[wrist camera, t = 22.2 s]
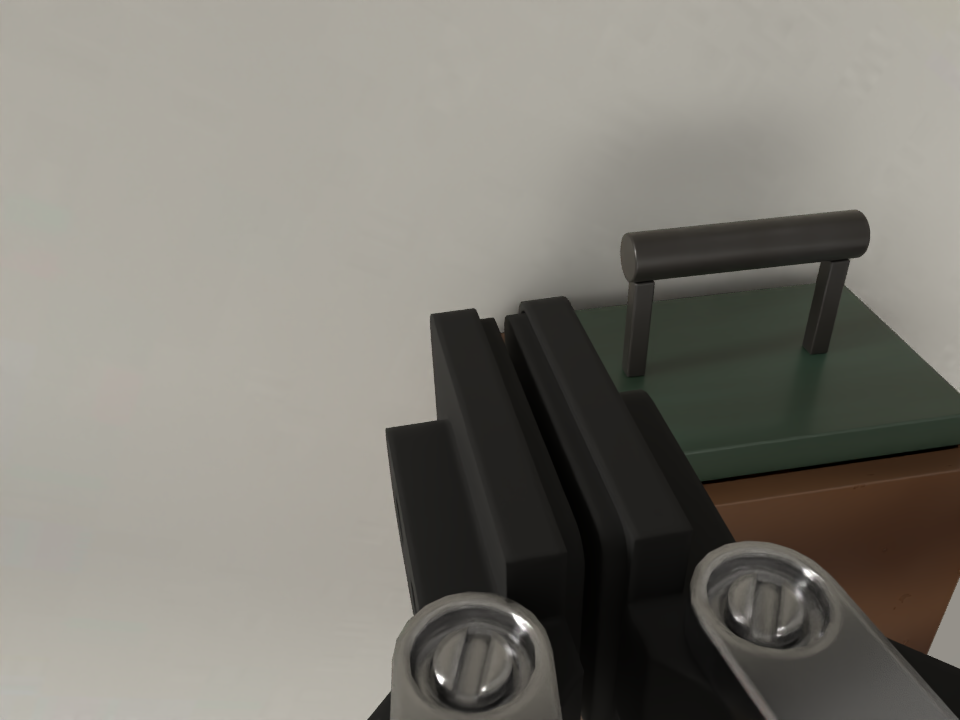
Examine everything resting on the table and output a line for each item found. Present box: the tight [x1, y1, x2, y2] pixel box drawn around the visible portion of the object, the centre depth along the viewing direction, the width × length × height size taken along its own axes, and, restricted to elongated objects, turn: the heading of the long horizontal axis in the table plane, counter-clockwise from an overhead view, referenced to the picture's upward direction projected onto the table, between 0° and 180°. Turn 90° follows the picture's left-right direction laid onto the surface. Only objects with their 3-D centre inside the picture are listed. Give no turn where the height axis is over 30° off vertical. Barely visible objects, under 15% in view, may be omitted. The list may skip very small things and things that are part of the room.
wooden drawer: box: [575, 210, 960, 482], centre depth 31 cm, size 20×12×8 cm, turn 1°
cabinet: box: [501, 333, 960, 720], centre depth 33 cm, size 17×13×10 cm
